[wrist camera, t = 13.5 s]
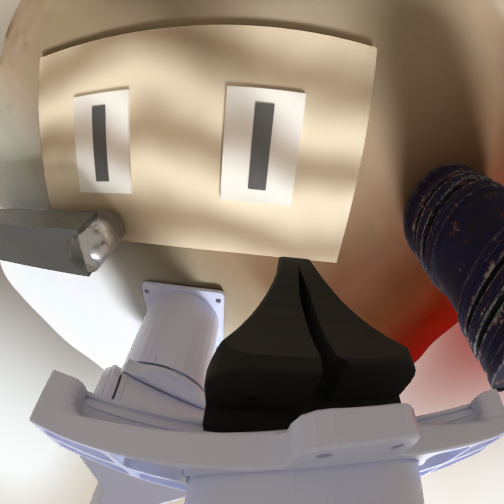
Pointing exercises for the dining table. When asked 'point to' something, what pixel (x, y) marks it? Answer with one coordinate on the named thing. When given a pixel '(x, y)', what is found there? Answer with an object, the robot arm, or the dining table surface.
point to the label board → (210, 135)
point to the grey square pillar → (59, 238)
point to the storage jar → (464, 254)
